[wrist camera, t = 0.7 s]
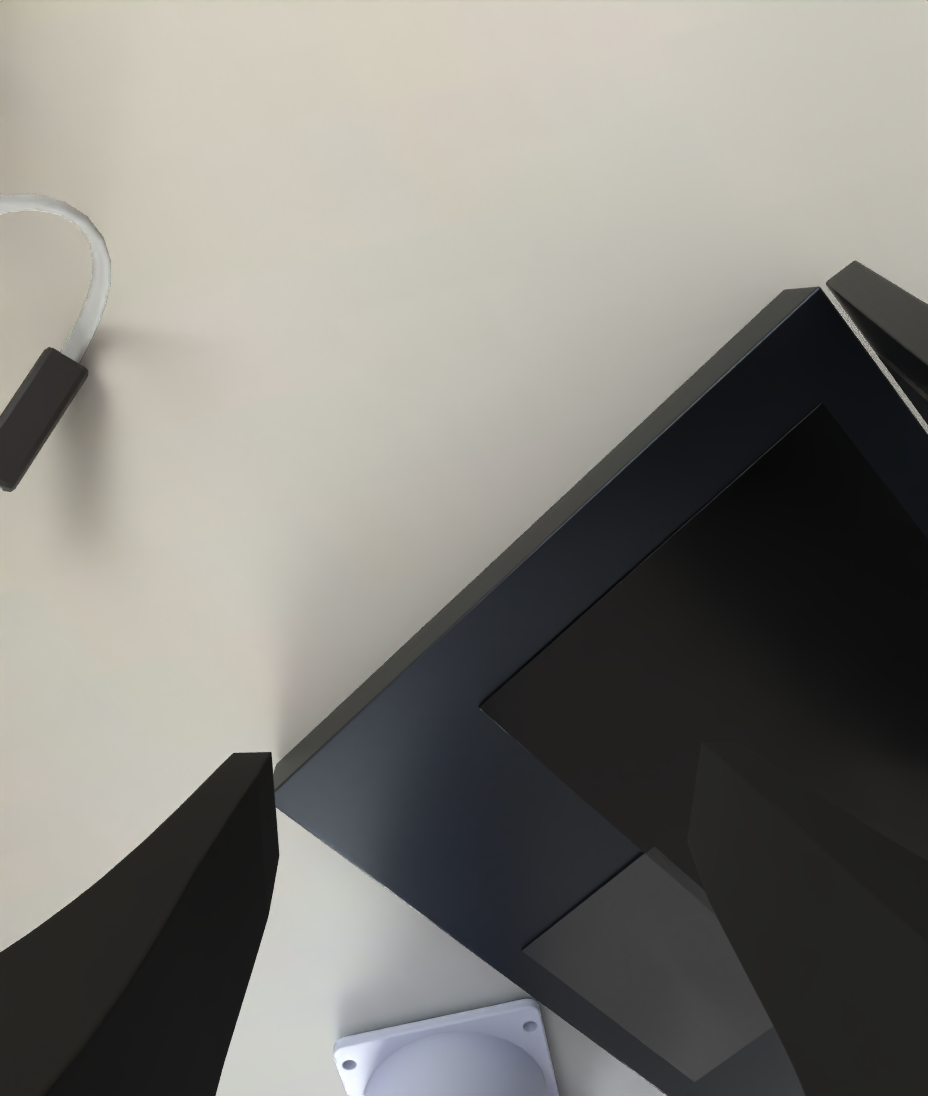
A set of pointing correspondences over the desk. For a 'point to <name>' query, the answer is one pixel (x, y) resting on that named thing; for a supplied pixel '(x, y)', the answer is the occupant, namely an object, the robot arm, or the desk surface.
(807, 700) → the laptop
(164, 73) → the desk surface
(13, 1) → the desk surface
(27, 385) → the clip-on lamp
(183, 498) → the desk surface
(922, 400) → the laptop screen
